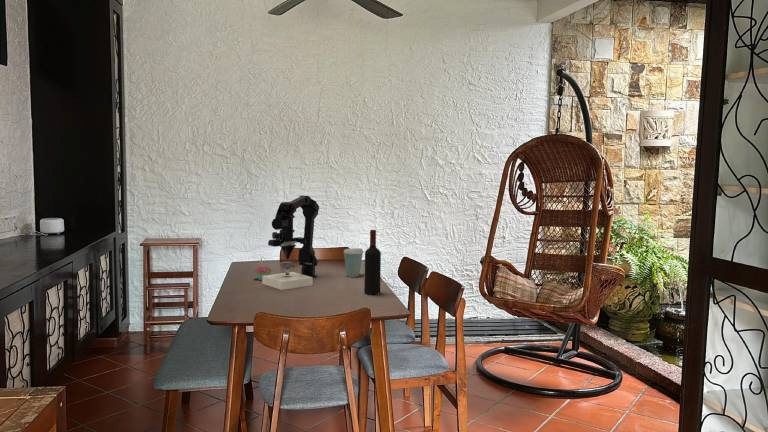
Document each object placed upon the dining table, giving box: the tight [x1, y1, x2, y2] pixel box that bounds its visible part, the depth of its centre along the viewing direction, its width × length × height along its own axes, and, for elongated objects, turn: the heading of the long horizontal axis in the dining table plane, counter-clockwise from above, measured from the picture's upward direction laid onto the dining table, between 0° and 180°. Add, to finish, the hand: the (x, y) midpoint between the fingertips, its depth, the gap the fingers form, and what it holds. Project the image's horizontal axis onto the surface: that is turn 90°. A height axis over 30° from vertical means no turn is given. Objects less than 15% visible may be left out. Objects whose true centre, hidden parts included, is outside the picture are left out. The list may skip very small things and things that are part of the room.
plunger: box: [279, 261, 295, 275], centre depth 313 cm, size 7×7×6 cm
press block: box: [261, 271, 314, 291], centre depth 313 cm, size 18×18×4 cm
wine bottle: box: [363, 229, 382, 295], centre depth 295 cm, size 8×8×30 cm
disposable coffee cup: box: [343, 247, 364, 278], centre depth 337 cm, size 11×11×15 cm
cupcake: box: [254, 257, 272, 281], centre depth 325 cm, size 9×8×12 cm
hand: (287, 258), depth 312 cm, fingers closed
